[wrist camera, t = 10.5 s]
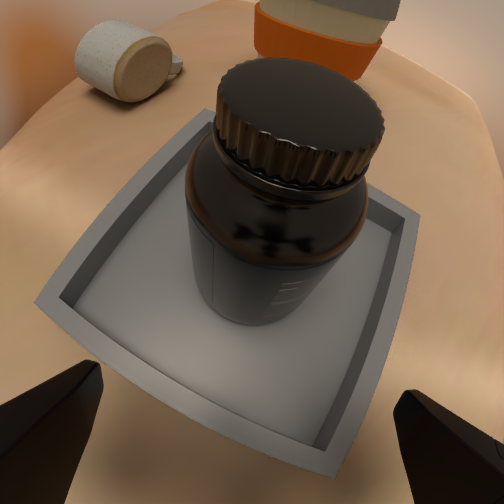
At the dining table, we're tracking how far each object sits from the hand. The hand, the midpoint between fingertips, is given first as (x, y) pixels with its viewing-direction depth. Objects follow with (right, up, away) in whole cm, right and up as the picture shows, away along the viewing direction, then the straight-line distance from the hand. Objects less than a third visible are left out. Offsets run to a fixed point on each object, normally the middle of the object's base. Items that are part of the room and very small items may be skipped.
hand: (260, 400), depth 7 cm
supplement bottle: (0, +3, +11) cm, 11 cm away
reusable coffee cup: (+5, +21, +21) cm, 30 cm away
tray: (0, +3, +11) cm, 12 cm away
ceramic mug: (-13, +22, +19) cm, 32 cm away
